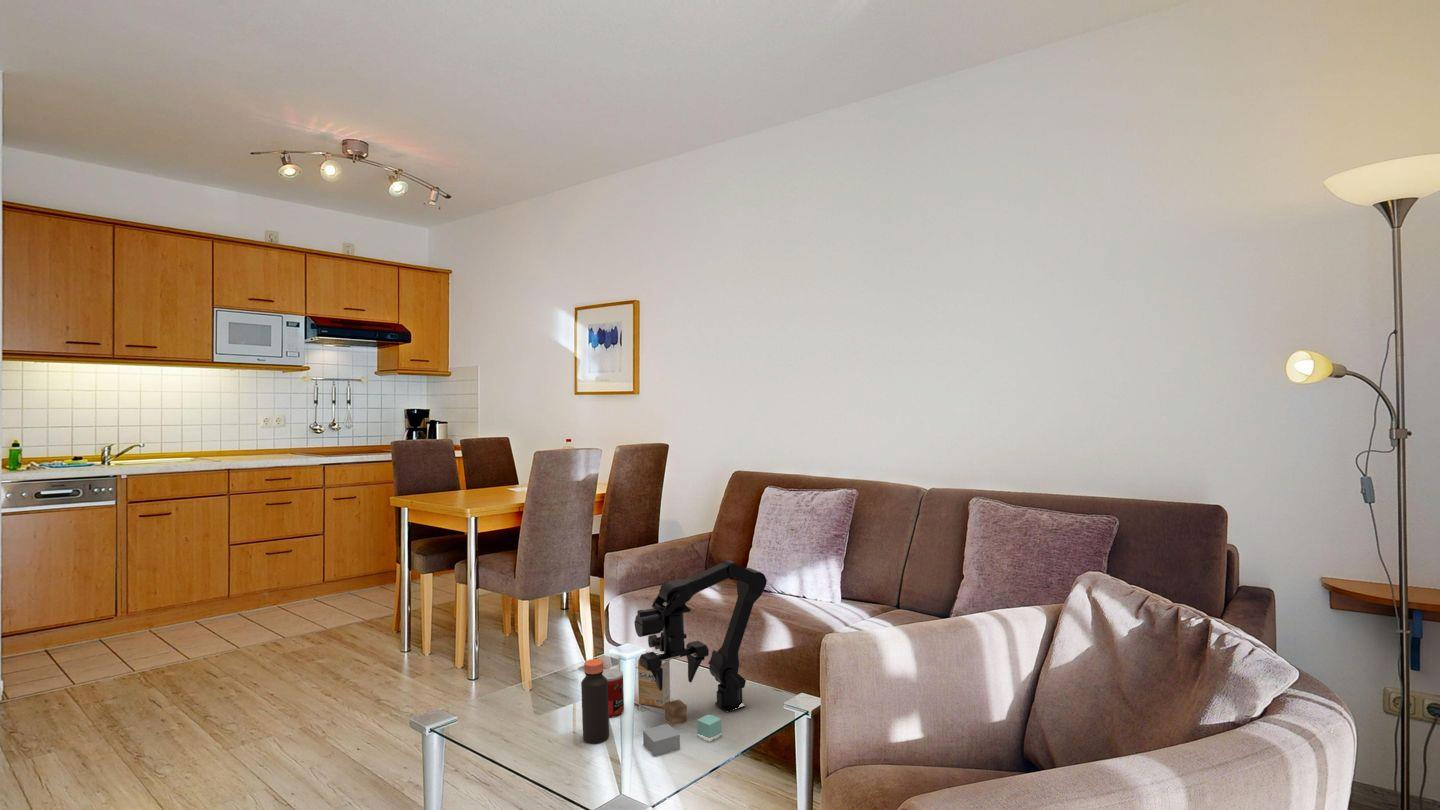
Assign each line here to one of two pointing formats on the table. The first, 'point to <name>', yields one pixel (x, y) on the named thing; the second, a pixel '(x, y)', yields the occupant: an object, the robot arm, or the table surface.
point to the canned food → (614, 691)
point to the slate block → (661, 740)
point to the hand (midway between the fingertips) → (675, 686)
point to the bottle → (595, 703)
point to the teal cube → (709, 726)
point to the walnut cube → (675, 712)
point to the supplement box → (653, 686)
